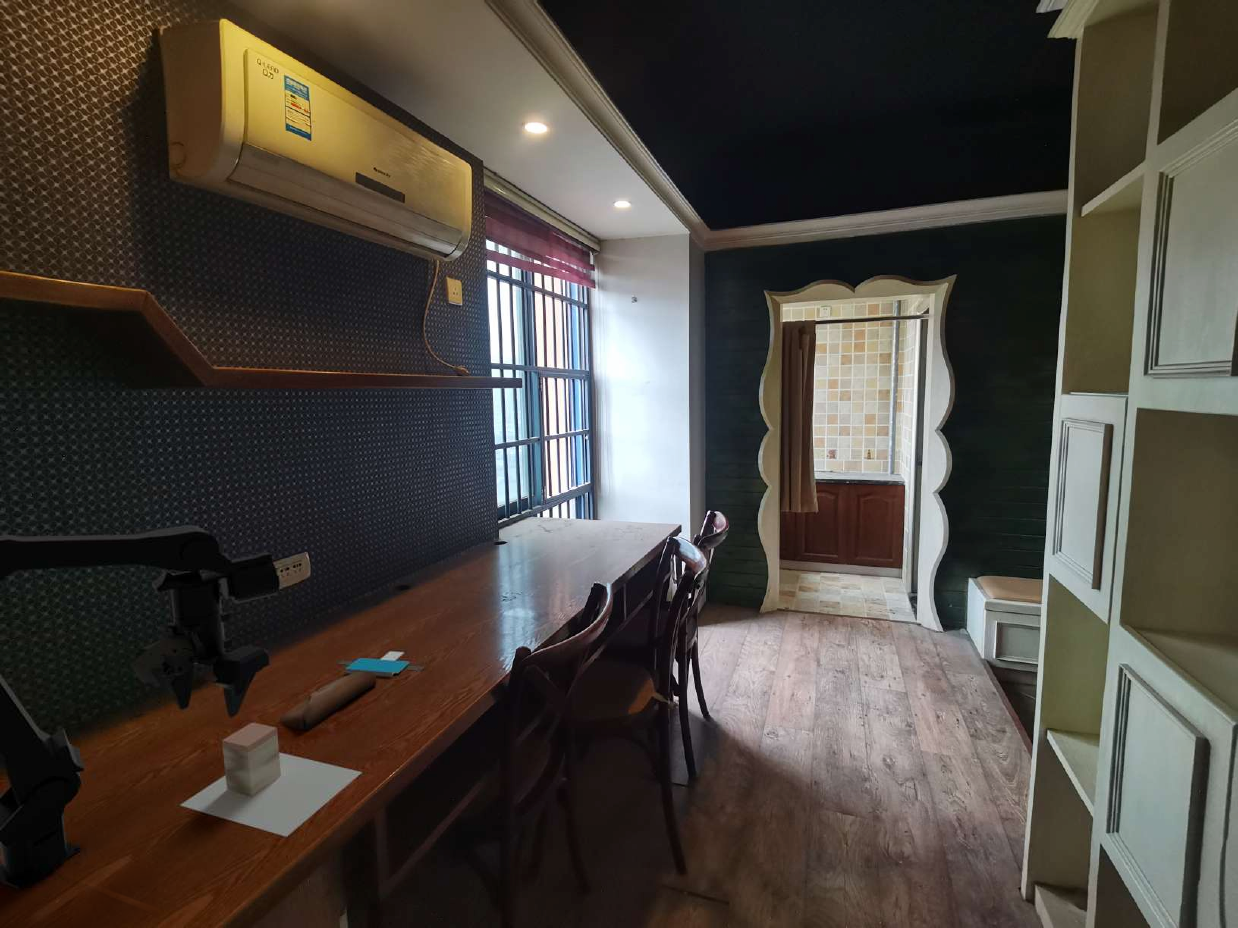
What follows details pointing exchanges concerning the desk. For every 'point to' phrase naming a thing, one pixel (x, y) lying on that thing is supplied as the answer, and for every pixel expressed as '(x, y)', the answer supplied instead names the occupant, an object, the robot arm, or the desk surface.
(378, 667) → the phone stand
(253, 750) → the birch block
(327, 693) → the sunglasses case
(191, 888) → the desk surface
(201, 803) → the grey mat
